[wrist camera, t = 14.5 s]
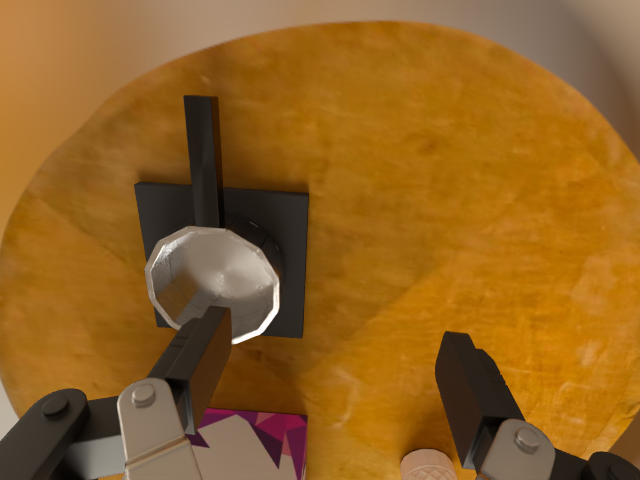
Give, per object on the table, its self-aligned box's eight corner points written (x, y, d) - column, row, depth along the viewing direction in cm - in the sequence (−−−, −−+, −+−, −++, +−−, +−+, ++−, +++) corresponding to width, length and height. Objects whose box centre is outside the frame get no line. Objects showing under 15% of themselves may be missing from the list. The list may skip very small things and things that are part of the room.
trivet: (139, 181, 33) (133, 184, 32) (308, 193, 32) (308, 196, 31) (161, 321, 39) (157, 326, 38) (302, 332, 39) (302, 338, 38)
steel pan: (285, 322, 37) (279, 348, 33) (174, 313, 37) (155, 338, 34) (289, 99, 28) (281, 101, 24) (143, 91, 29) (113, 91, 25)
